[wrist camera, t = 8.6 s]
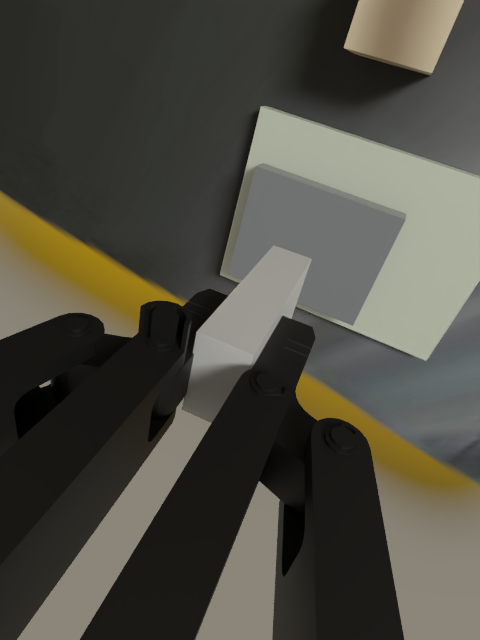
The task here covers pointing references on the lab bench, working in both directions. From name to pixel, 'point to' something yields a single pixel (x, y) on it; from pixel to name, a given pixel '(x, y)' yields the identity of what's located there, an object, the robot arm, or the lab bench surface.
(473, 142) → the lab bench surface
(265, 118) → the board
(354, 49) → the block
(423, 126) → the lab bench surface
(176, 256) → the lab bench surface
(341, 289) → the tile
